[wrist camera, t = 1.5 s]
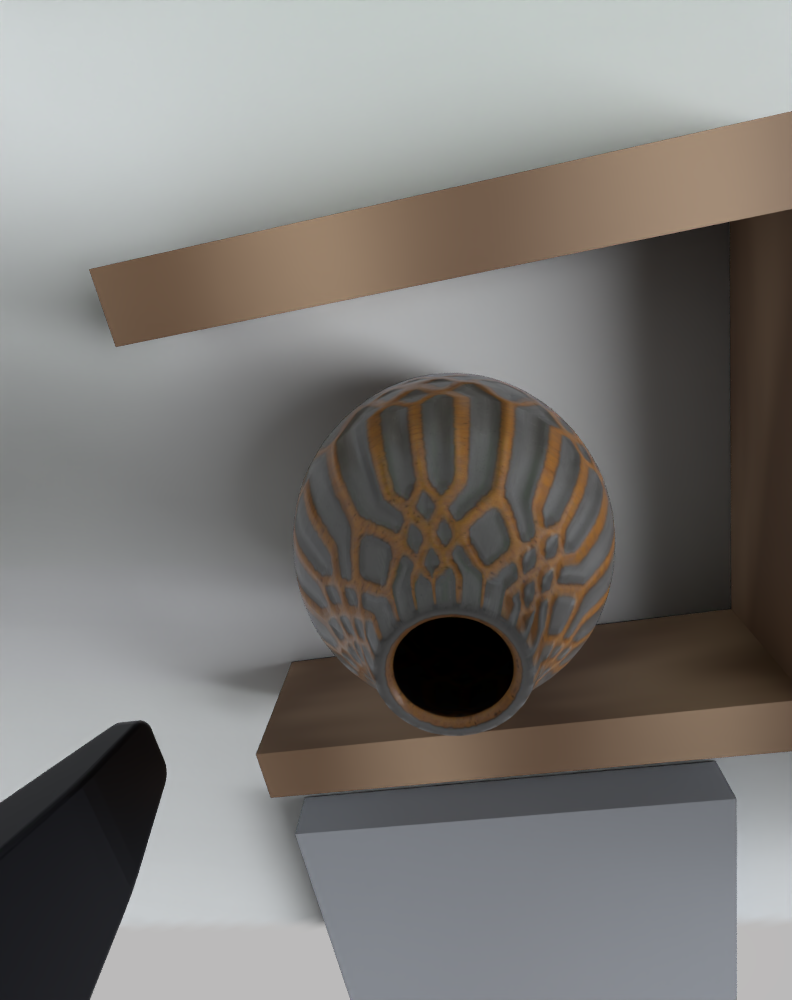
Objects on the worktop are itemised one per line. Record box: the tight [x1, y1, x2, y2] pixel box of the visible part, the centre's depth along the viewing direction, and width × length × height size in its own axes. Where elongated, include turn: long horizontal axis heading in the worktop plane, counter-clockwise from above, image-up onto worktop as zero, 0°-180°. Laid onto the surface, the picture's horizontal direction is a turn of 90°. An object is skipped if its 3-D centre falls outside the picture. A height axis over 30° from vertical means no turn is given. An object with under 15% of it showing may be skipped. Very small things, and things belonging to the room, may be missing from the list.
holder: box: [89, 111, 792, 798], centre depth 15 cm, size 15×14×4 cm
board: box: [295, 761, 737, 1000], centre depth 22 cm, size 14×14×2 cm
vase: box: [293, 373, 615, 736], centre depth 13 cm, size 7×7×9 cm
